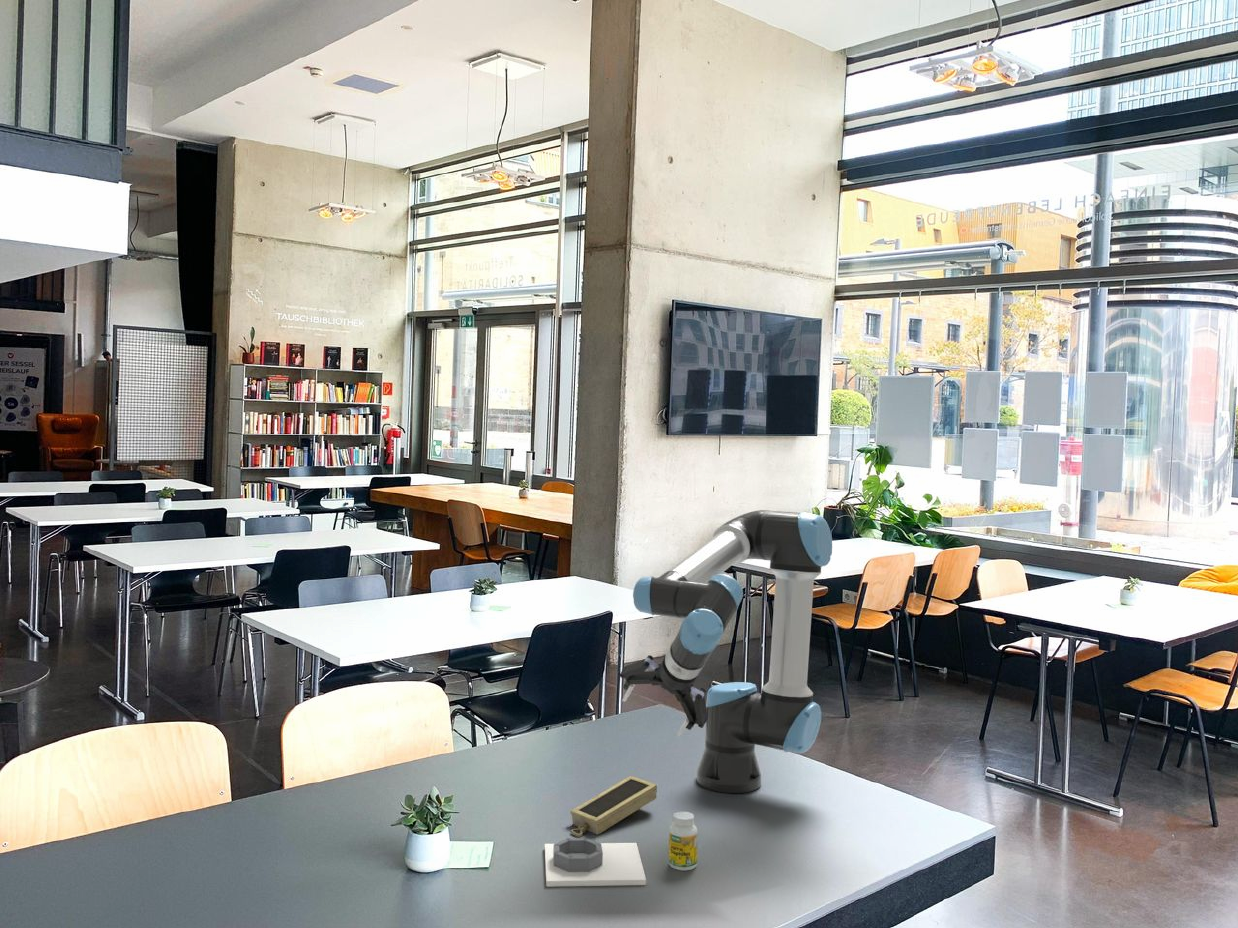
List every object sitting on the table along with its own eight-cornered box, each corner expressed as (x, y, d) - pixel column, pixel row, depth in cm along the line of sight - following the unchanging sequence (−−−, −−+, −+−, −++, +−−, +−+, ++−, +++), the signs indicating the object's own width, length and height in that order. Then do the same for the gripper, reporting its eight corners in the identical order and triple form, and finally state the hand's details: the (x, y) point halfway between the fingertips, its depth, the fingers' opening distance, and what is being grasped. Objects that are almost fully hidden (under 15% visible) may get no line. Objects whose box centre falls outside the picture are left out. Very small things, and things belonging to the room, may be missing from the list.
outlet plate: (636, 847, 194) (636, 830, 194) (645, 884, 178) (646, 865, 178) (544, 848, 192) (545, 831, 192) (546, 886, 176) (546, 867, 176)
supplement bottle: (699, 861, 189) (701, 812, 188) (693, 873, 183) (694, 822, 183) (672, 857, 190) (673, 808, 190) (665, 868, 185) (666, 818, 185)
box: (660, 804, 213) (658, 783, 213) (588, 852, 197) (586, 828, 196) (632, 795, 219) (629, 774, 218) (560, 840, 203) (557, 818, 202)
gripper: (619, 644, 195) (595, 695, 210) (729, 712, 191) (696, 759, 206) (637, 618, 200) (612, 670, 215) (743, 684, 196) (710, 732, 211)
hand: (653, 713), depth 211 cm, fingers open, 13 cm apart
